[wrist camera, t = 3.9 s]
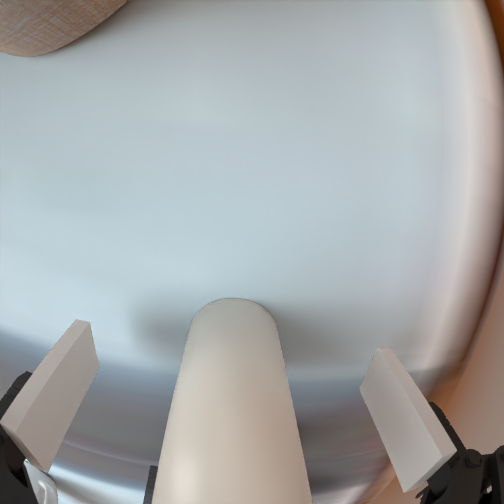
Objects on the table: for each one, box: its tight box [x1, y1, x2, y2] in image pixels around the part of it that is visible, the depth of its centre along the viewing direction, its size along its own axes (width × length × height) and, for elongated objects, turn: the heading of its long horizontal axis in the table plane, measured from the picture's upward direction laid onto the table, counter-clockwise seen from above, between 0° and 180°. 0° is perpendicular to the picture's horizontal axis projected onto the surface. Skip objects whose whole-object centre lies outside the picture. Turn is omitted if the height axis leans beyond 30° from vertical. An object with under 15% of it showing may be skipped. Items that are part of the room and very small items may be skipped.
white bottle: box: [152, 298, 313, 504], centre depth 8 cm, size 4×4×12 cm
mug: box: [24, 461, 58, 504], centre depth 16 cm, size 15×11×13 cm
